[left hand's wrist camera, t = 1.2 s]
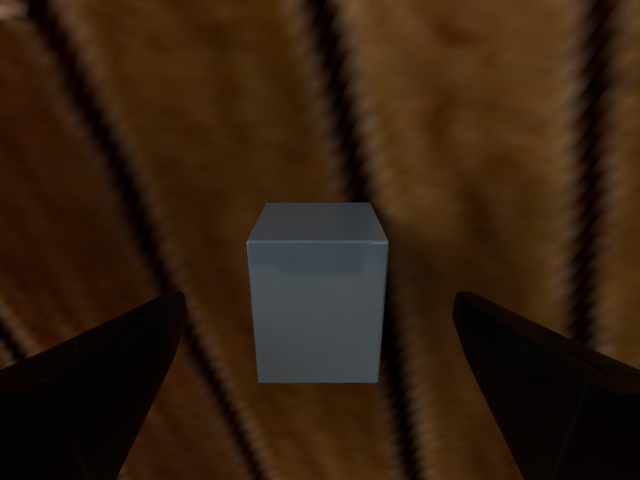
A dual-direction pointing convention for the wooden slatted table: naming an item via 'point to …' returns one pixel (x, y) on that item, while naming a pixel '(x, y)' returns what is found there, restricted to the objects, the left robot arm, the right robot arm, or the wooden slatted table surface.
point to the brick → (317, 292)
